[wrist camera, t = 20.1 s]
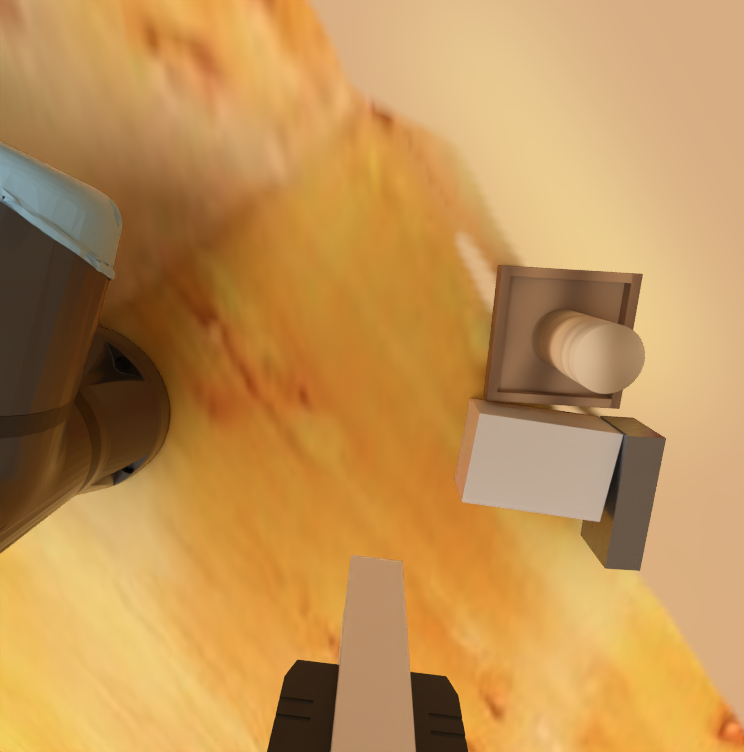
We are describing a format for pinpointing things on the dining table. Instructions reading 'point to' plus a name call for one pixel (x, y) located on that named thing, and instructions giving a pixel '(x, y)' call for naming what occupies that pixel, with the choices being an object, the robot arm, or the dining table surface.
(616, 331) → the roller
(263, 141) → the dining table surface
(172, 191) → the dining table surface
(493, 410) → the slab
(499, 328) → the tray
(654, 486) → the block
